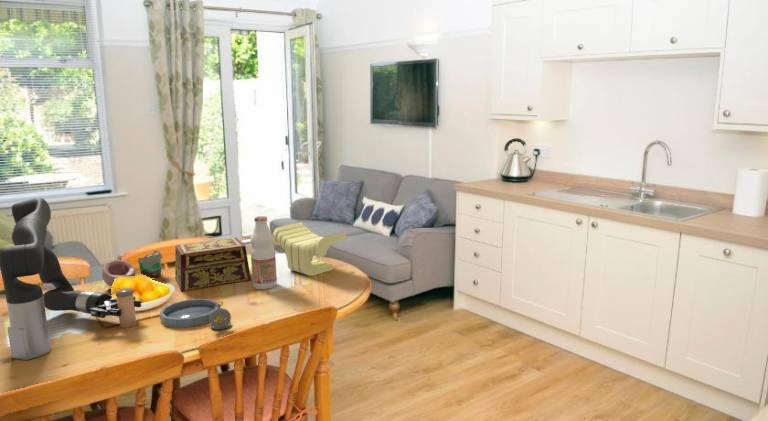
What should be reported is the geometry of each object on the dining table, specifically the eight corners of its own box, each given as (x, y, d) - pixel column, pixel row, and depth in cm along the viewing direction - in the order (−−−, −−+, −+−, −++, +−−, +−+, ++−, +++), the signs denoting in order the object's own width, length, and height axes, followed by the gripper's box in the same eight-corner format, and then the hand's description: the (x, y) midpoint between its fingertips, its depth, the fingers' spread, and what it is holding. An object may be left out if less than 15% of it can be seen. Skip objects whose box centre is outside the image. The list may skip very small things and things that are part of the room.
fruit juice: (248, 288, 226) (243, 218, 220) (262, 280, 234) (257, 214, 229) (268, 290, 222) (263, 220, 217) (281, 283, 231) (277, 215, 225)
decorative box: (181, 292, 223) (177, 255, 220) (175, 279, 239) (171, 244, 236) (251, 281, 235) (249, 245, 232) (241, 269, 251) (238, 236, 248)
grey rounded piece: (223, 320, 193) (221, 292, 191) (238, 326, 188) (236, 298, 186) (202, 328, 187) (199, 299, 185) (217, 335, 182) (214, 305, 180)
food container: (153, 282, 235) (150, 258, 233) (139, 281, 237) (137, 258, 235) (170, 273, 247) (167, 250, 245) (157, 272, 248) (154, 250, 246)
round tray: (194, 330, 186) (194, 322, 185) (148, 323, 193) (147, 315, 192) (230, 309, 203) (229, 302, 203) (186, 303, 210) (186, 296, 210)
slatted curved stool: (274, 267, 252) (272, 228, 248) (302, 259, 263) (301, 222, 260) (318, 281, 232) (317, 239, 228) (347, 272, 243) (346, 232, 239)
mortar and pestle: (113, 294, 221) (110, 266, 219) (98, 288, 229) (94, 261, 226) (142, 286, 231) (139, 258, 228) (126, 280, 238) (123, 254, 236)
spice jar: (128, 329, 188) (124, 294, 186) (115, 327, 190) (111, 292, 187) (140, 323, 193) (136, 289, 190) (128, 321, 195) (124, 287, 192)
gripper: (74, 299, 188) (112, 305, 182) (109, 286, 201) (145, 290, 195) (77, 321, 190) (115, 327, 184) (111, 306, 203) (147, 311, 197)
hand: (130, 308), depth 190 cm, fingers open, 8 cm apart
